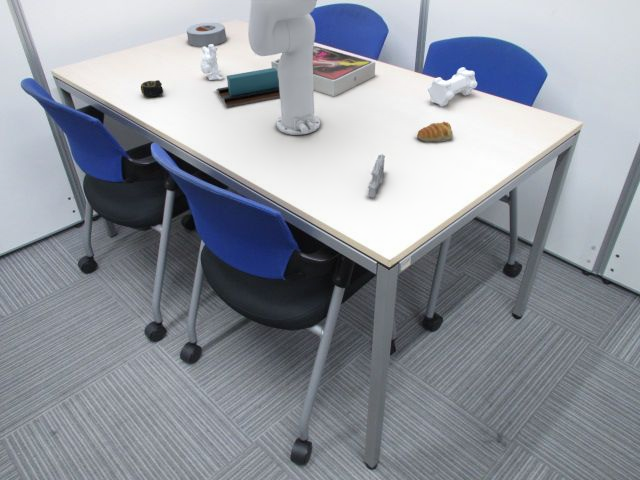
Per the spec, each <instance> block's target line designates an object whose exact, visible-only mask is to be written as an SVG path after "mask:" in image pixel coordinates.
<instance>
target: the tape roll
mask: <svg viewBox="0 0 640 480" xmlns="http://www.w3.org/2000/svg"><path fill="white" fill-rule="evenodd" d="M226 33H227V32H226V27H225V24H223V23H220V22H202V23H201V22H200V23H196V24H193V25H191V26H189V27H187V28H186V36H187V41H188V44H189V45H190V46H193V47H199V48H200V47H201V48H202V47H207V48H208V45H210V44H213V45H214V46H217V45H221V44H223V43H225V42H226V41H227V34H226Z"/></svg>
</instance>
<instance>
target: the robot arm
mask: <svg viewBox="0 0 640 480" xmlns="http://www.w3.org/2000/svg"><path fill="white" fill-rule="evenodd" d="M317 1H318V0H250V9H249V18H248V19H249V20H248V30H247V33H248V34H247V35H248V43H249V46H250V49H251V51H252V52H253V53H254V54H255V55H257V56H260V57H269V56H275V55H279V54H281V55H280V57H279V59H280V60H279V64H278V78H279V91H280V98H279V103H280V116H281V117H279V118H278V119H277V121H276V128H277V130H278V131H279V132H281V133H284V134H287V135H292V136H303V135H308V134H311V133H314V132H316V131H317V130H318V129H319V128H320V127H321V120H320V118H319V117H318V116H316V115H315V95H314V94H315V93H314V91H315V90H313V47H314V45H315V40H316V23H315V20H314V17H313V16H312V15H311V13H312V12H313V11H314V10H315V8H316V5H317Z"/></svg>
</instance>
